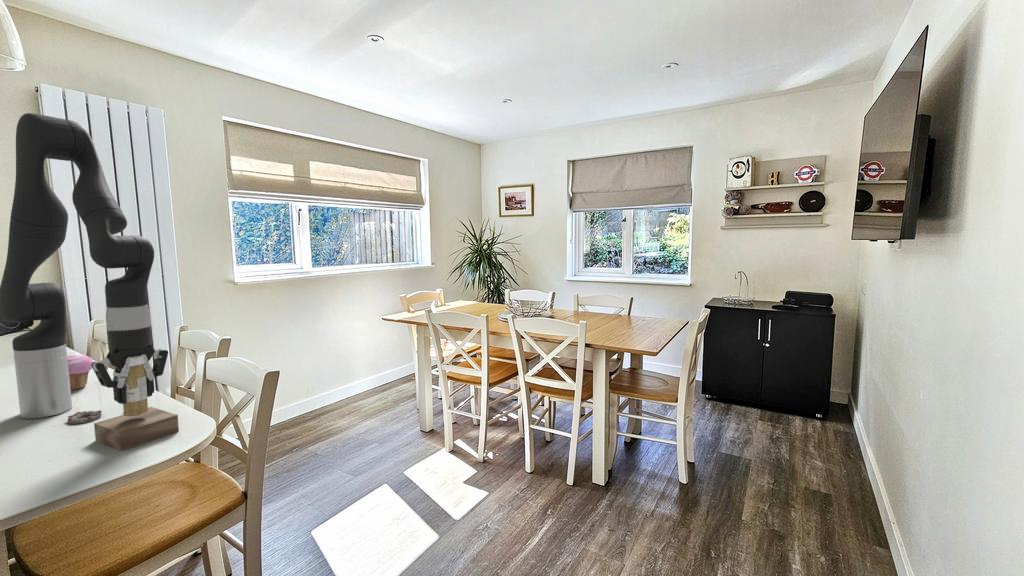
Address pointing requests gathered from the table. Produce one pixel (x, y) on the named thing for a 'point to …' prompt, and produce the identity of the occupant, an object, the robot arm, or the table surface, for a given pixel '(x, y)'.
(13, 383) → the table surface
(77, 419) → the donut
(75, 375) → the cupcake
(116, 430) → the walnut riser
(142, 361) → the sprinkles bottle
